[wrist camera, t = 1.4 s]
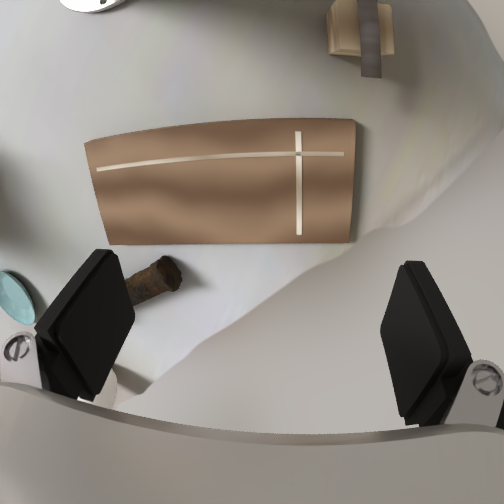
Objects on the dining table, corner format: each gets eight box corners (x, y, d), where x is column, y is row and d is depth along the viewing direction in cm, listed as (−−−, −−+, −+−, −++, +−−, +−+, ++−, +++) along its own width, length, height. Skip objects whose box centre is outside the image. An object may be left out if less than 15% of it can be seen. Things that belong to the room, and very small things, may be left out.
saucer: (-10, 281, 43) (-16, 288, 41) (3, 251, 39) (-5, 259, 37) (30, 324, 47) (24, 332, 46) (49, 302, 43) (42, 311, 41)
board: (91, 140, 28) (83, 143, 27) (352, 119, 25) (355, 121, 24) (115, 238, 35) (109, 245, 33) (346, 235, 32) (348, 243, 30)
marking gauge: (324, -6, 19) (337, -31, 13) (368, -2, 19) (394, -23, 13) (329, 75, 23) (345, 75, 17) (373, 78, 23) (401, 80, 17)
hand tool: (167, 248, 35) (153, 271, 31) (186, 274, 37) (175, 299, 33) (75, 293, 41) (60, 314, 37) (92, 313, 43) (78, 334, 39)
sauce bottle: (126, 363, 48) (89, 452, 33) (124, 384, 52) (93, 463, 37) (86, 345, 47) (43, 428, 32) (88, 368, 51) (52, 443, 36)
